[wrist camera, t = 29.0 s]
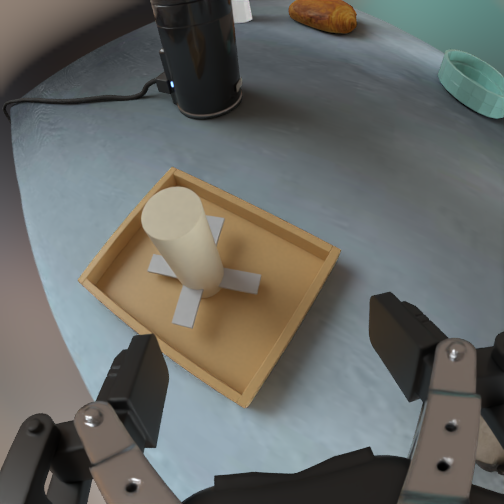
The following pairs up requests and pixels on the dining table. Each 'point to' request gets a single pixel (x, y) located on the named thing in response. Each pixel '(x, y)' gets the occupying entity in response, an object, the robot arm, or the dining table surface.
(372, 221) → the dining table surface
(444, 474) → the robot arm
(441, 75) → the processor bowl
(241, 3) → the pepper shaker
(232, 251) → the tray
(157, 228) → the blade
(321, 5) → the croissant
